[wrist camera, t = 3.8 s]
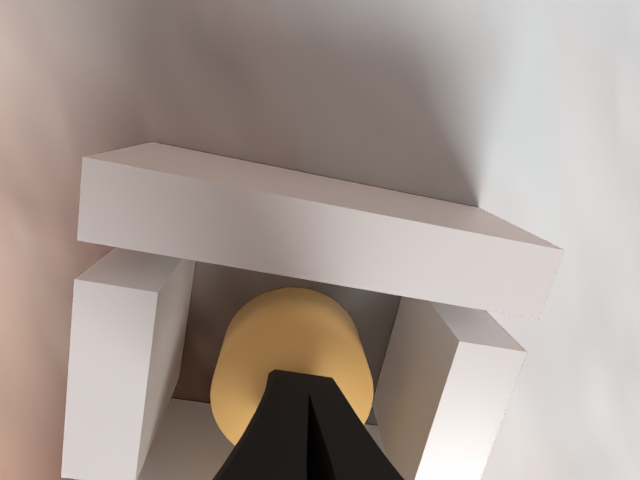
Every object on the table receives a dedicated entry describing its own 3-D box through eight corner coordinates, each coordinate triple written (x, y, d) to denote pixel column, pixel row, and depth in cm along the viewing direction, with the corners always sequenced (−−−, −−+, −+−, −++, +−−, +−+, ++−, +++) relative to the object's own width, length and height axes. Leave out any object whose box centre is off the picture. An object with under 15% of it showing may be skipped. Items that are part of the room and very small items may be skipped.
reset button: (214, 399, 12) (199, 454, 10) (234, 276, 11) (223, 310, 9) (343, 416, 12) (353, 472, 10) (373, 299, 11) (390, 337, 10)
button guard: (120, 433, 14) (55, 559, 10) (152, 141, 11) (82, 156, 7) (399, 467, 15) (438, 592, 11) (479, 207, 12) (564, 250, 9)
